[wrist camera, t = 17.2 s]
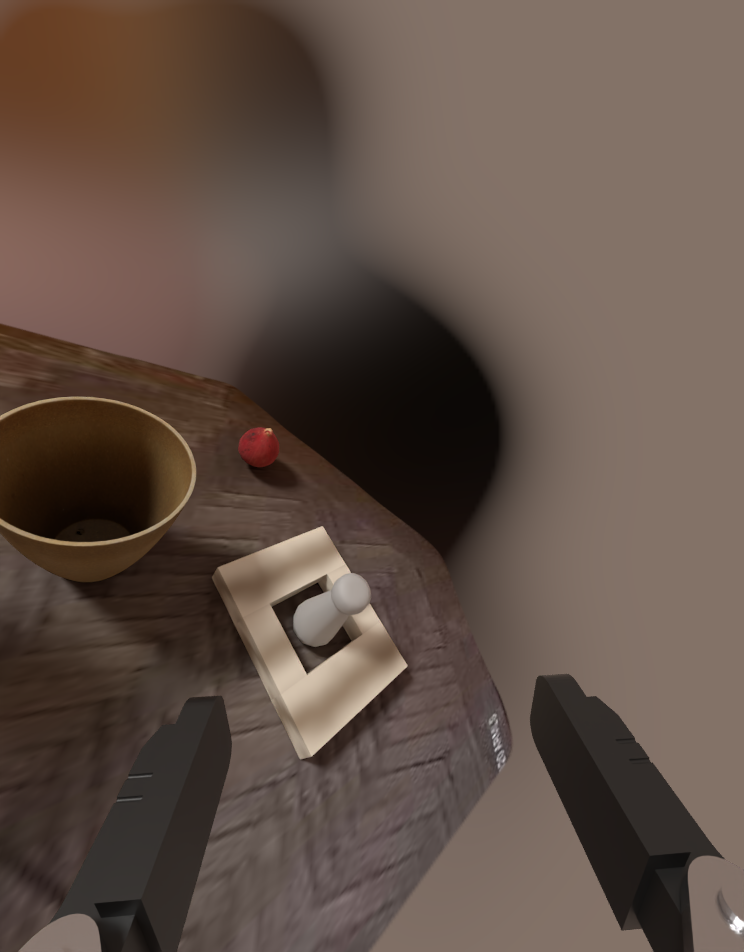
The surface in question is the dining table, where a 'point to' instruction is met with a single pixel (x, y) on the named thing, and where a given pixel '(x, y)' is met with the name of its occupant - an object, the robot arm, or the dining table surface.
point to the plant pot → (89, 484)
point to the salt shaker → (330, 610)
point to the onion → (259, 447)
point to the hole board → (289, 687)
